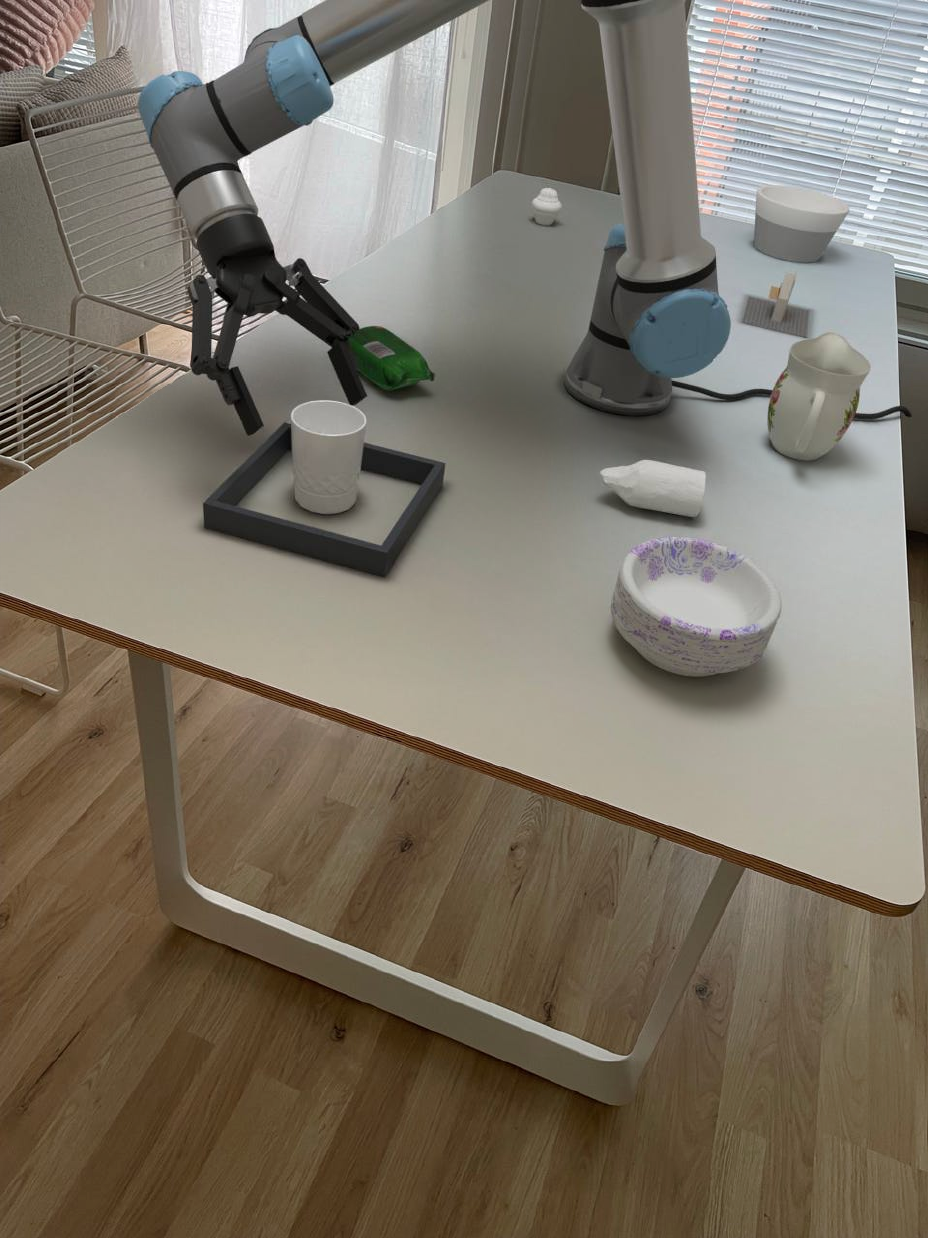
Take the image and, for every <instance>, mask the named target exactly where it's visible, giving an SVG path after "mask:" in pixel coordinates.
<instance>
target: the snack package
mask: <svg viewBox="0 0 928 1238" xmlns="http://www.w3.org/2000/svg"><path fill="white" fill-rule="evenodd" d="M350 345H351V347H352V350H353V352H354V354H355V357H356V359H357V361H358V364H359V369H357V370H356V371H357V372H358V373H361V374H362V375H363V376H364V377H366V378H367V379H368V380H370V381H371V382H372V383H374V385H377V386H378V387H379V388H380V389H383V390H384V391H387V392H390V391H394V390H397V389H400V388H405V387H409V386H412V385H415V384H416V385H417V384H418V383H419V382H421V381H429V380H430V382H434V380H435V375H436V372H433V371H432V370H431V369H430V367H429V365H428V362H427V360H426V359H425V357H424V356H423V355H422V353H420V351H419V350H417V349H416V348H415V347H413V346H412V345H410V344H409V343H407V342H406V341H405V340H403V339H402V338H401V337H399V336H398V335H396V334H395V333H393V332H392V331H390V330H389V329H387V328H385V327H384V326H379V325H369V326H364V327H361V328H359V331H358V332H357V333H355V334H354V335H353V336H352V337H351V338H350Z"/></svg>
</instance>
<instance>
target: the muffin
mask: <svg viewBox="0 0 928 1238" xmlns="http://www.w3.org/2000/svg"><path fill="white" fill-rule="evenodd" d="M531 207H532V213H533V216H534V220H535V223H537V224H538V225H541V226H551V225H552V224H553V223H554V221H555V220H556V218H558V216H559V214H560V212H561V211H562V203H561V201H560V200H559V198H558V192H557V191H556V190H555V189H553V188H551V187H545V188H544V187H543V188H542V189H541V190H540V192H539V194H538V195H537V196H536V197H535V198H534V199H533V200H532V201H531Z"/></svg>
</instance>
